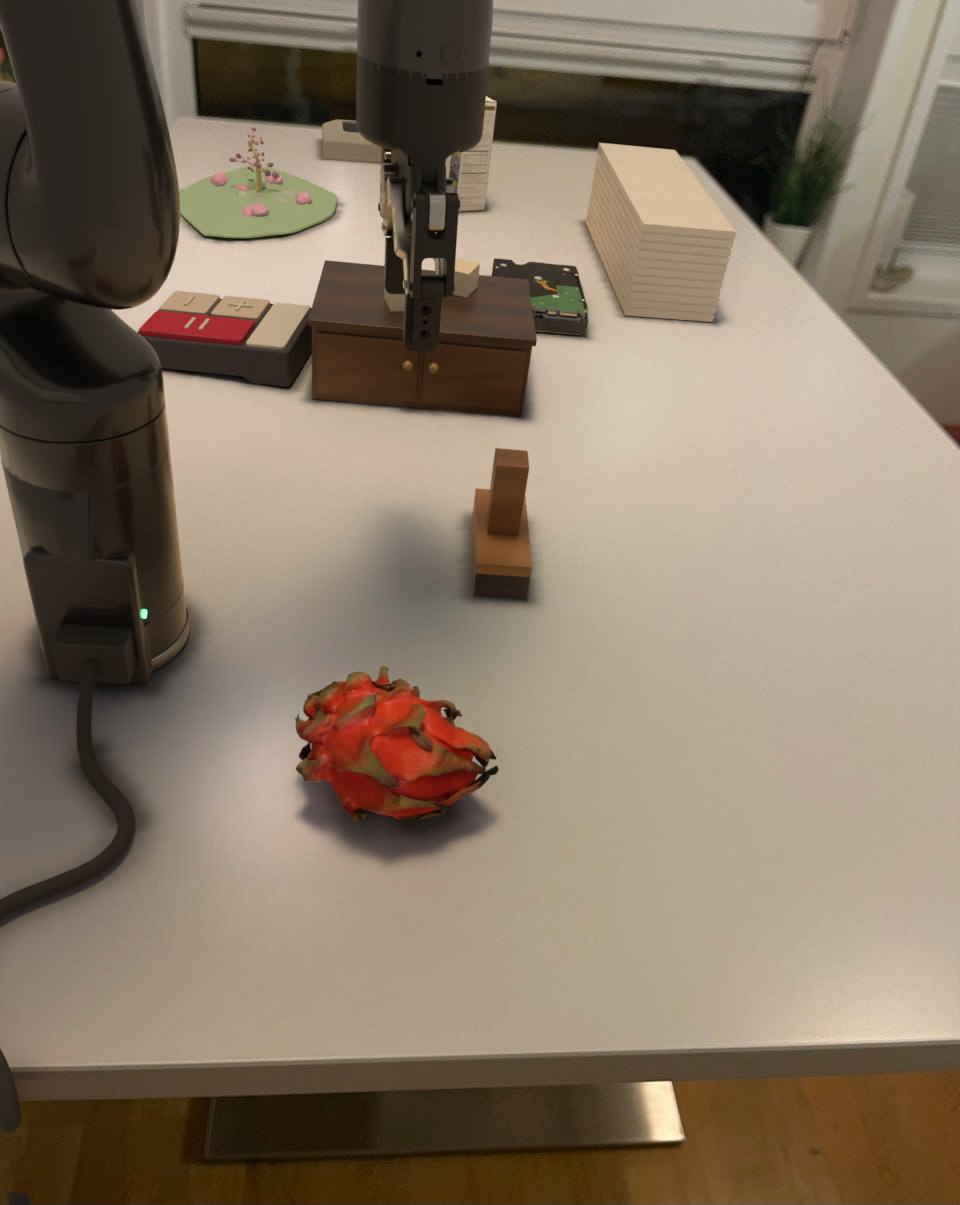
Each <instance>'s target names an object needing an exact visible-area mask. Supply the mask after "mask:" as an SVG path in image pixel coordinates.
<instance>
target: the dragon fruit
mask: <svg viewBox="0 0 960 1205" xmlns="http://www.w3.org/2000/svg"><path fill="white" fill-rule="evenodd" d="M389 671H390V670H389V667H387V666H385V665H384V666H380V667H379V672H378V677H377V678H376V680H372V677H371V675H370V674H369V672H366V671H361V670H360V671H353V672H351V673H349V674H348V675H347V678H346V680H345V681H343V680H342V681H336V680H335V681H332V682H331V683H329V684H328V685H325V686H324V687H323V688H321V689H319V690H316V691H314V692H312V693H308V694H307V696H306V697H307V698H306V699H305V700H304V702H303V708H302V711H303V714H304V715H305V716H306V717H307V720H303V719H301V718H300V714H299V713H298V714H297V716H296V717H295V718H294V721H295V731H296V734H297V735H298V737H299V738H300V739H301V740H303V741H305V742H307V744H306V745H304V746H302V748H301V750H300V752H299V754H298V758H299V759H300V760H301V761H300V762H299V763H298V764H297V765H296V766H295V771H296V772H297V773H298V775H300V776H301V778H302V780H303V781H304V782H305V783H315V782H317V783H319V782H322V781H325V782H328V784H330V786H331V787H332V789H333V790H334V792H335V793H336V795H337V797H338V798H339V800H340V801H341V806H342V808H343V810H344V811H345V813H346V814H347V815H348V817H349V818H350V820H351V821H353V822H356V823H361V822H363V820H364V819H366V817H367V816H368V813H367V812H372V813H374V814H378V815H381V816H388V817H393V819H396V820H399V821H402V820H409V822H418V821H421V820H427V819H431V818H434V817H438V816H444V815H445V814H446V813H447V812H448V811H449V806H451V805H452V804H454V803H455V802H457V801H458V800H460V799H462V798H463V797H465V796H467V795H469V794H472V793H474V792H476V791H478V790H479V789H480V788H482V787H483V786H484V785H485V784H486V783H487V782H488V781H489V780H490V778H491V776H495V775H497V774H498V772H499V770H500V769H499V766H498V765H495V766H493V767H491V768H489V769H487V767H488V765H489V763H490V760H492V761H493V760H497V758H498V756H496V755H495V754H496V753H494V751H493V750H492V749H491V747H490V746H489V743H488V742H487V741H486V740H485V739H483V738H482V737H481V736H480V735H478V734H475V733H473V732H470V731H468V730H466V729H464V728H462V727H459V726H456V724H455V720H456V719H457V717H460V718H462V717H463V713H462V712H461V710H459V709H457V707H456V704H455V703H453V702H452V701H451V700H447V699H437V700H426V699H423V698H420V696H421V694H420V693H421V692H420V689H419V686H417V685H415V686H412V687H411V685H410V683H409V682H408V681H407V680H406V679H403V678H397V679H393V681H391V682H390V677H389ZM442 708H443V711H444V713H445V716H443V714H442ZM497 747H498V748H497V750H496V751H499V746H497ZM474 759H475V760H476V761H477V762H475V761H473V760H474ZM479 764H480V765H479ZM479 775H480V776H479ZM477 777H478V778H477ZM366 811H367V812H366Z"/></svg>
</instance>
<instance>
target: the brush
mask: <svg viewBox="0 0 960 1205" xmlns="http://www.w3.org/2000/svg"><path fill="white" fill-rule="evenodd" d="M492 463H493V464H492V469H491V470H492V471H491V479H490V487H489V488H477V487H476V488H475V490H474V499H473V506H472V516H471V541H472V542H471V543H472V544H471V545H472V546H471V548H472V591H473V592H472V594H473V596H481V597H482V596H483V597H496V598H497V597H498V598H508V599H509V598H510V599H522V600H524V599H525V600H526V599H528V593H529V588H530V582H531V575H532V570H533V564H532V553H531V542H530V541H531V540H530V532H529V530H530V529H529V519H528V518H529V517H528V509H527V507H528V506H527V498H526V497H527V496H526V492H527V485H528V479H529V474H530V473H529V472H530V461H529V453H528V450H524V449H523V450H522V449H512V448H511V449H510V448H499V447H496V448H495V449H494V456H493V462H492Z"/></svg>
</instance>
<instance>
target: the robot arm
mask: <svg viewBox="0 0 960 1205" xmlns="http://www.w3.org/2000/svg"><path fill="white" fill-rule="evenodd" d="M356 16H357V20H356V21H357V24H356V25H357V27H356V88H355V89H356V96H355V97H356V101H355V102H356V103H355V104H356V105H355V121H356V126H357V129H358V131H359V133H360V134H361V136H362V137H364V138H365V139H366V140H368V141H369V142H371V143H373V144H375V145H377V146H380V147H382V155H381V163H380V171H379V174H380V181H379V182H380V184H379V199H378V200H379V202H377V203H378V204H377V210H378V212H379V216H380V217H381V219H382V222H381V228H380V229H381V231H383V234H382V235H383V236H384V237H385V240H384V241H385V242H384V243H385V244H384V266H385V268H384V286H385V289H386V291H387V292H388V293H390V294H405V302H404V323H403V342H404V345H405V348H406V349H407V350H409V351H432V350H435V349H436V348H437V347H438V344H439V332H440V318H441V304H442V297H444V298H452V296H453V292H454V290H455V284H454V273H455V258H457V257H456V256H457V255H456V254H457V241H458V227H459V226H458V224H459V212H460V211H459V209H460V200H459V197H458V193H454V182H453V179H452V178H446V165H445V163H446V159H447V158H448V157H449V156H450V155H452V154H454V153H456V152H465V151H467V150H470V149H472V148H474V147H475V146H476V145H477V144H478V143H479V142H480V140H481V138H482V134H483V124H484V112H485V101H486V96H487V89H488V78H489V67H490V56H491V44H492V33H493V32H492V31H493V22H494V21H493V20H494V0H357V15H356ZM0 31H1V34H2V37H3V41H4V44H5V47H6V51H7V55H8V58H9V61H10V66H11V70H12V73H13V77H14V81H15V82H13V81H8V80H7V81H6V80H2V79H0V462H1V466H2V471H3V475H4V480H5V484H6V489H7V494H8V497H9V504H10V507H11V512H12V517H13V520H14V521H13V522H14V525H15V526H14V527H15V530H16V536H17V538H18V543H19V547H20V552H21V556H22V557H21V558H22V564H23V569H24V573H25V577H26V582H27V587H28V590H29V596H30V601H31V604H32V609H33V614H34V618H35V623H36V627H37V635H38V640H39V644H40V650H41V652H42V654H43V658H44V663H45V667H46V671H47V676H48V677H49V678H57V679H58V680H60V681H72V682H80V684H79V689H78V694H77V703H76V717H75V718H76V724H75V725H76V727H75V730H76V731H75V732H76V737H75V738H76V746H77V752H78V757H79V760H80V764H81V766H82V769H83V771H84V773H85V775H86V777H87V778H88V780H89V782H90V783H91V784H92V786H93V787H94V789H96V791H97V792H98V793H99V794H100V795H101V796H102V797H103V798H104V799H105V800H106V802H108V804H109V805H110V806H111V807H112V808H113V810H114V811H115V813H116V815H117V820H118V822H117V824H118V825H117V830H116V833H115V835H114V837H113V838H112V840H111V842H110V844H108V845H107V847H106V848H104V849H103V850H102V851H101V852H100V853H98V854H97V855H96V856H94V857H93V858H91V859H90V860H88V861H86V862H84V863H82V864H80V865H78V866H76V867H74V868H72V869H69V870H66V871H65V872H62V873H60V874H57V875H54V876H52V877H49V878H47V879H44V880H41V881H39V882H36V883H34V884H31V885H28V886H26V887H23V888H21V889H18V890H15V891H14V892H12V893H10V894H8V895H6V896H4V897H1V898H0V920H1V919H2V918H4V917H6V916H8V915H9V914H11V913H14V912H16V911H17V910H19V909H22V908H23V907H26V906H28V905H31V904H33V903H35V902H38V901H40V900H44V899H46V898H48V897H51V896H54V895H56V894H59V893H62V892H64V891H66V890H69V889H72V888H73V887H76V886H79V885H81V884H83V883H85V882H87V881H89V880H91V879H92V878H94V877H96V876H98V875H99V874H101V873H102V872H104V871H106V869H108V868H110V867H111V866H112V865H113V864H114V863H115V862H116V861H117V860H118V859H119V858H121V856H123V854H124V853H125V850H126V848H127V847H128V846H129V844H130V841H131V840H132V837H133V834H134V831H135V828H136V826H135V824H136V822H135V821H136V816H135V813H134V810H133V808H132V806H131V803H130V802H129V800H128V798H127V797H126V796H125V795H124V794H123V793H122V792H121V791H120V789H119V788H118V787H117V786H116V785H115V784H114V783H113V782H112V781H111V780H110V779H109V777H108V776H107V774H105V773H104V771H103V770H102V768H101V767H100V764H99V762H98V761H97V757H96V754H95V749H94V744H93V734H92V730H93V729H92V728H93V727H92V726H93V724H92V723H93V721H92V719H93V702H94V695H95V690H96V685H97V684H96V683H104V684H117V685H118V684H120V685H130V684H131V683H138V684H144V683H147V682H148V681H149V679H150V676H151V674H152V673H153V671H155V670H157V669H158V668H160V667H162V666H164V665H166V664H167V663H168V662H170V661H171V660H172V659H173V658H174V657H175V656H177V655H178V654H179V653H180V651H181V650H182V649H183V648H184V646H185V644H186V642H187V641H188V638H189V634H190V618H189V617H190V616H189V612H188V607H187V605H186V604H187V603H186V595H185V594H186V593H185V584H184V576H183V566H182V557H181V556H182V555H181V548H180V547H181V546H180V537H179V536H180V535H179V526H178V516H177V508H176V498H175V487H174V477H173V467H172V459H171V458H172V457H171V447H170V445H171V444H170V434H169V423H168V414H167V405H166V395H165V384H164V376H163V368H161V364H160V361H159V358H158V356H157V354H156V352H155V351H154V349H153V348H152V346H151V345H150V344H149V343H148V342H147V341H146V340H145V339H144V338H143V337H142V336H141V335H140V334H138V333H137V332H138V331H136V330H135V329H134V328H133V327H131V326H130V325H129V324H127V322H125V321H124V320H123V319H122V318H121V317H120V316H119V315H117V313H115V310H117V311H118V310H119V311H121V310H128V309H134V308H136V307H139V306H141V305H143V304H145V303H146V302H148V301H150V300H151V299H152V298H153V297H154V296H155V295H156V294H157V293H158V292H159V291H160V290H161V288H162V287H163V285H164V283H166V281H167V279H168V278H169V275H170V272H171V270H172V268H173V265H174V263H175V260H176V255H177V250H178V245H179V239H180V226H181V213H180V198H179V195H180V186H179V176H178V173H177V172H178V171H177V164H176V159H175V154H174V150H173V149H174V148H173V145H172V139H171V134H170V131H169V127H168V122H167V118H166V114H165V108H164V105H163V101H162V97H161V93H160V88H159V84H158V81H157V77H156V72H155V68H154V63H153V60H152V56H151V51H150V47H149V43H148V38H147V35H146V30H145V26H144V21H143V17H142V13H141V9H140V5H139V0H0ZM426 259H432V260H433V263H434V271H435V275H423V274H421V272H422V270H423V269H422V268H423V262H424V260H426ZM20 1107H21V1106H20V1101H19V1096H18V1091H17V1086H16V1084H15V1081H14V1076H13V1072H12V1070H11V1068H10V1066H9V1063H8V1061H7V1057H6V1055H5V1054H4V1052H3V1050H2V1048H1V1047H0V1128H1V1129H2V1131H4V1133H12V1132H14V1131H15V1130H17V1129H18V1128H19V1126H20V1124H21V1121H22V1113H21V1108H20ZM6 1195H7V1200H8V1205H32V1202H31V1201H32V1200H31V1198H30V1195H29V1194H26V1193H20V1192H14V1191H6Z"/></svg>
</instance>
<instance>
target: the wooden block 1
mask: <svg viewBox="0 0 960 1205" xmlns="http://www.w3.org/2000/svg"><path fill="white" fill-rule="evenodd" d="M384 299H385V301H386V303H387V305H388V307H389V309H390V311H391V312H397V311H404V302H405V294H390V293H388V292H387V291H386V289H385V286H384Z"/></svg>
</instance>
